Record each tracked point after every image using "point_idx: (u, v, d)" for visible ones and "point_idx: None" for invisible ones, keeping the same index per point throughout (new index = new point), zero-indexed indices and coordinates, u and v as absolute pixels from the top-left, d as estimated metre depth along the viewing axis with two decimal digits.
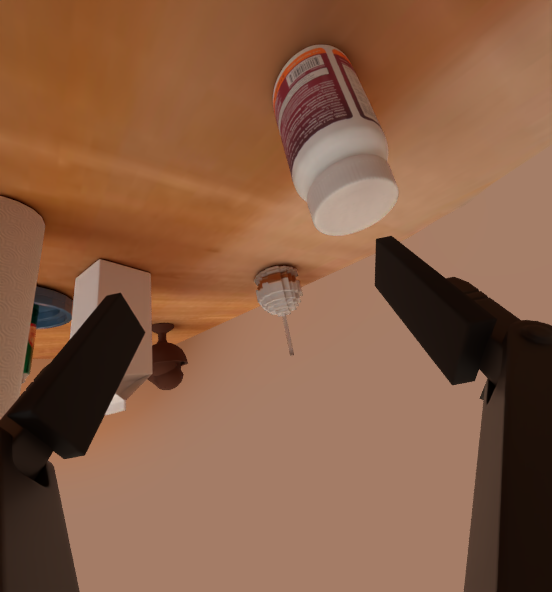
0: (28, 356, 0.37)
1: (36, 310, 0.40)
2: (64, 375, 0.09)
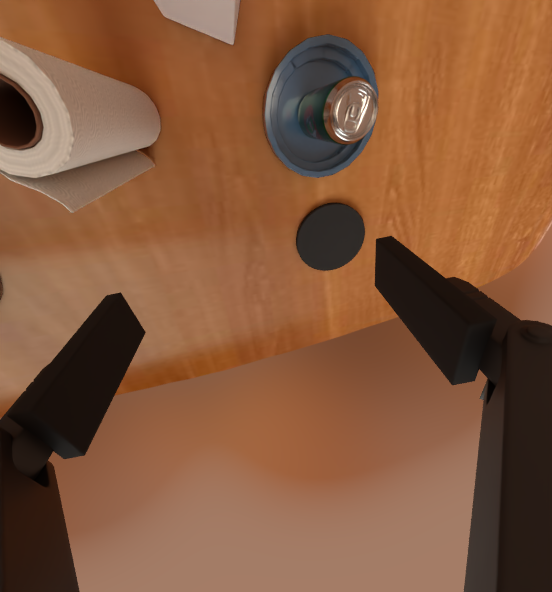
0: (330, 84, 0.24)
1: (313, 90, 0.30)
2: (64, 375, 0.09)
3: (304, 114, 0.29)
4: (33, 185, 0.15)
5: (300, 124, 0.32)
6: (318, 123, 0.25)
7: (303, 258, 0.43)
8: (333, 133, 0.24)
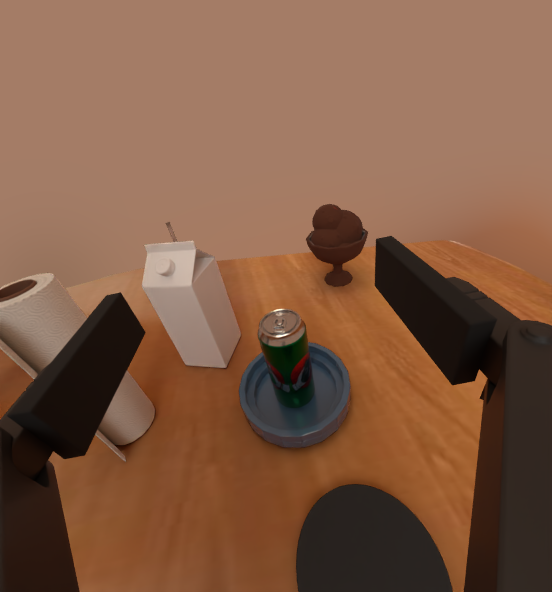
0: None
1: None
2: (64, 375, 0.09)
3: None
4: None
5: (275, 395, 0.32)
6: (262, 349, 0.28)
7: None
8: (266, 338, 0.26)
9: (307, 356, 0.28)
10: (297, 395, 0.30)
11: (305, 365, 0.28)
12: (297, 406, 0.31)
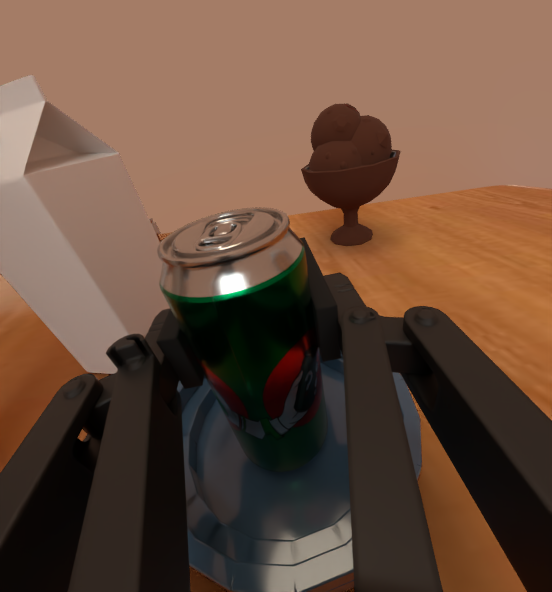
0: None
1: None
2: None
3: None
4: None
5: None
6: None
7: None
8: (171, 274, 0.08)
9: (311, 338, 0.10)
10: (286, 444, 0.11)
11: (306, 363, 0.10)
12: (287, 468, 0.13)
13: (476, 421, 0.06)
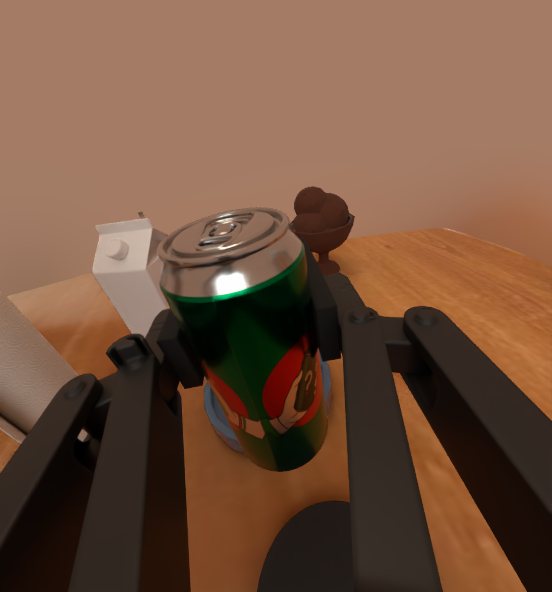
0: None
1: None
2: None
3: None
4: None
5: None
6: None
7: None
8: (171, 274, 0.08)
9: (311, 338, 0.10)
10: (286, 444, 0.11)
11: (306, 363, 0.10)
12: (287, 468, 0.13)
13: (476, 421, 0.06)
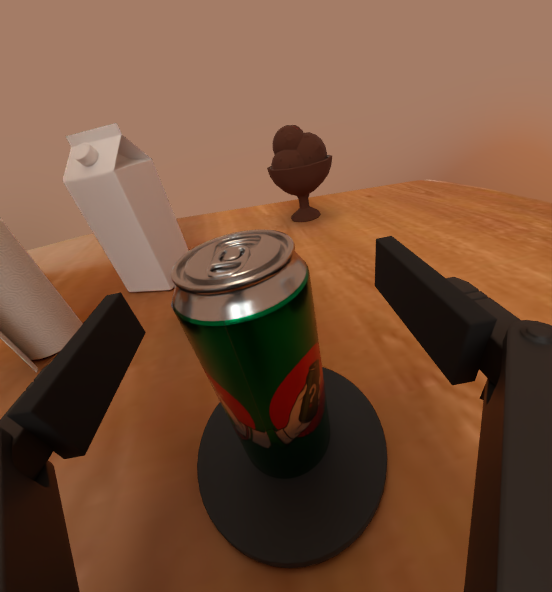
0: None
1: None
2: (64, 375, 0.09)
3: None
4: None
5: None
6: None
7: (211, 506, 0.13)
8: (185, 298, 0.08)
9: (315, 353, 0.10)
10: (291, 453, 0.12)
11: (310, 377, 0.10)
12: (292, 475, 0.13)
13: None
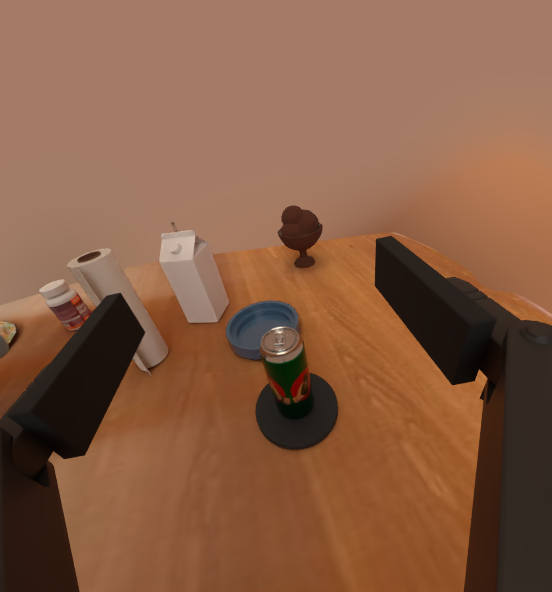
0: None
1: None
2: (64, 375, 0.09)
3: None
4: (74, 270, 0.36)
5: (277, 407, 0.34)
6: None
7: (265, 431, 0.33)
8: (267, 355, 0.28)
9: (306, 370, 0.30)
10: (297, 407, 0.32)
11: (304, 378, 0.30)
12: (298, 417, 0.33)
13: None
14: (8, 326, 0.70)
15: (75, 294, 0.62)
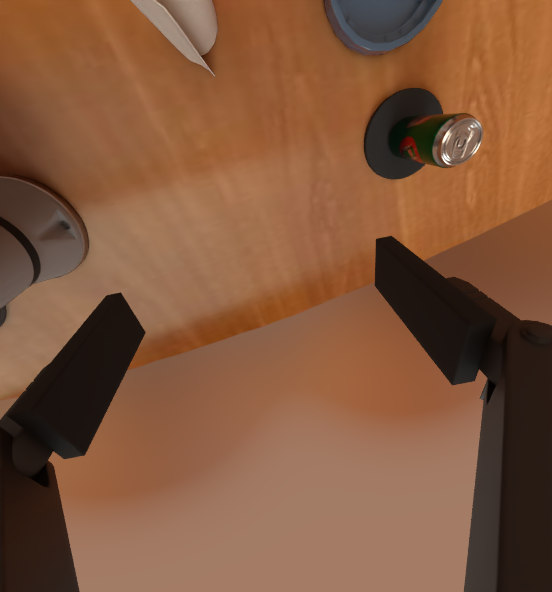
0: (434, 120, 0.29)
1: (404, 119, 0.35)
2: (64, 375, 0.09)
3: (400, 143, 0.34)
4: None
5: (392, 149, 0.37)
6: (423, 153, 0.30)
7: (373, 166, 0.39)
8: (441, 161, 0.29)
9: None
10: None
11: None
12: None
13: None
14: None
15: None
